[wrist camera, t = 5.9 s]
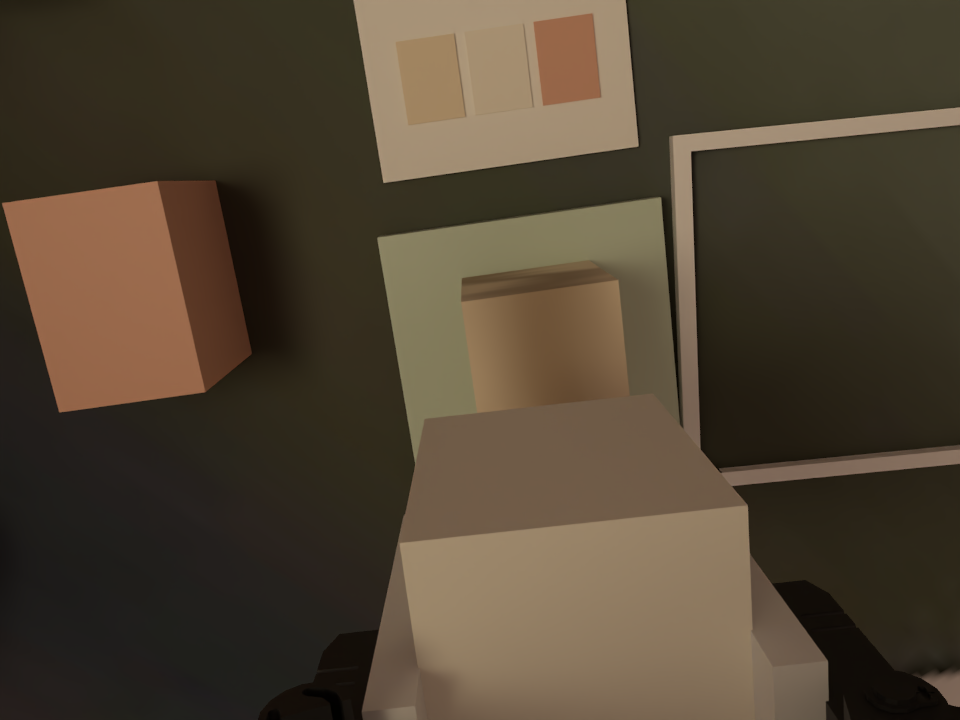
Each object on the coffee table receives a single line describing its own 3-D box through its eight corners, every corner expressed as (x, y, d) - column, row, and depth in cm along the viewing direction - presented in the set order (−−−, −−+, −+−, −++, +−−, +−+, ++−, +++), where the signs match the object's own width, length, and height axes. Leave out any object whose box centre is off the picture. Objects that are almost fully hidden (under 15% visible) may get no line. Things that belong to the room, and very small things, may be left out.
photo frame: (1110, 450, 33) (687, 492, 33) (1090, 442, 34) (680, 482, 34) (1145, 88, 30) (674, 135, 30) (1121, 92, 31) (666, 136, 31)
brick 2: (486, 446, 32) (490, 506, 26) (461, 278, 30) (460, 302, 25) (606, 429, 32) (638, 485, 26) (588, 260, 30) (618, 279, 25)
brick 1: (132, 369, 32) (59, 412, 26) (90, 198, 31) (2, 203, 25) (252, 353, 32) (205, 392, 26) (216, 180, 31) (157, 180, 25)
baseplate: (422, 491, 34) (421, 501, 33) (379, 235, 31) (377, 237, 30) (677, 456, 33) (683, 464, 32) (654, 196, 31) (661, 197, 30)
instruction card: (384, 183, 31) (383, 182, 30) (352, -9, 29) (351, -11, 29) (637, 146, 30) (639, 146, 30) (620, -48, 29) (621, -51, 28)
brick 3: (462, 698, 19) (457, 935, 13) (424, 418, 17) (399, 543, 11) (671, 675, 18) (763, 905, 13) (652, 393, 17) (747, 505, 11)
